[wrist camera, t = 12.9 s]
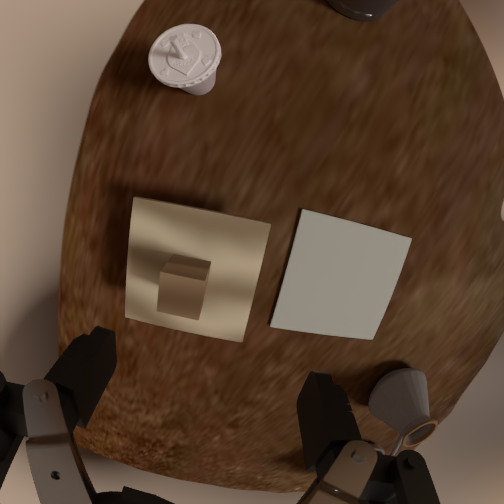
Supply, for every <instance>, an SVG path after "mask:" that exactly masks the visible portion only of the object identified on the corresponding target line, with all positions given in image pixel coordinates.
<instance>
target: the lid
mask: <svg viewBox="0 0 504 504" xmlns="http://www.w3.org/2000/svg"><path fill="white" fill-rule="evenodd" d="M270 227H271V222H267V221H262V220H257V219H253V218H248V217H243V216H238V215H233V214H228V213H223V212H218V211H213V210H208V209H203V208H198V207H193V206H187V205H182V204H177V203H171V202H166V201H160V200H155V199H149V198H143V197H138V196H136V197H134V199H133V206H132V215H131V224H130V234H129V245H128V258H127V275H126V302H125V317H127V318H131V319H135V320H139V321H143V322H147V323H151V324H155V325H159V326H163V327H167V328H172V329H176V330H181V331H185V332H190V333H195V334H200V335H205V336H210V337H215V338H221V339H226V340H232V341H237V342H242V341H243V337H244V333H245V329H246V325H247V321H248V317H249V313H250V309H251V305H252V301H253V297H254V293H255V288H256V284H257V280H258V276H259V272H260V268H261V264H262V260H263V256H264V252H265V247H266V243H267V239H268V235H269V231H270Z"/></svg>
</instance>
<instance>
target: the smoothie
mask: <svg viewBox="0 0 504 504" xmlns="http://www.w3.org/2000/svg"><path fill="white" fill-rule="evenodd" d="M220 58H221V47H220V44H219V41H218V39H217V37H216V36H215V34H214V33H213V32H212V31H210V30H209V29H207V28H206V27H203V26H200V25H196V24H184V25H179V26H175V27H173V28H171V29H169V30H167V31H165V32H164V33H163V34H161V35H160V36H159V37H158V38H157V39H156V40H155V42H154V43H153V45H152V47H151V49H150V52H149V57H148V63H149V67H150V70H151V72H152V73H153V74H154V76H155V77H156V78H157V79H158V80H159V81H160V82H162V83H163V84H165V85H168V86H171V87H178V88H181V89H183V90H185V91H187V92H189V93H191V94H193V95H203V94H206V93H207V92H209V91H210V90H211V89H212V88H213V86H214V84H215V77H216V68H217V66H218V64H219V62H220Z"/></svg>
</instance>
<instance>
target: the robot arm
mask: <svg viewBox="0 0 504 504" xmlns="http://www.w3.org/2000/svg"><path fill="white" fill-rule="evenodd" d="M398 1H399V0H327V2H328V3H329V4H330V5H331V6H332V7H333V8H334V9H336V10H337V11H338V12H340V13H341V14H343V15H345V16H347V17H349V18H352V19H355V20H360V21H373V20H376V19H378V18H380V17H381V16H382V15H383V14H384V13H385V12H386V11H388V10H389V9H390V8H391V7H392V6H393V5H394V4H396V3H397V2H398ZM116 362H117V356H116V339H115V332H114V331H113V330H109V329H106V328H103V327H100V326H96V327H95V328H94V329H93V331H92V332H91V333H90V335H89V336H88V335H86V334H82V335H81V336H79V337H77V338H75V339H74V340H73V341H72V342H71V344H70V345H69V346H68V348H67V349H66V350H65V351H64V352H63V355H61V356H60V358H59V359H58V360H57V361H56V363H55V364H54V365H53V367H52V368H51V369H50V371H49V372H48V373H47V375H46V376H45V377H44V379H35V380H32V381H30V382H28V383H27V384H26V385H20V384H15V383H11V382H7V381H6V379H5V377H4V375H3V373H1V371H0V489H1V487H2V484H3V481H4V479H5V477H6V474H7V472H8V470H9V468H10V465H11V463H12V461H13V459H14V456H15V454H16V452H17V450H18V448H19V446H20V444H21V442H22V440H23V438H24V436H26V437H28V438H29V440H27V441H26V451H27V455H28V460H29V464H30V469H31V473H32V476H33V480H34V484H35V486H36V490H37V494H38V497H39V500H40V503H41V504H174V503H172V502H169V501H167V500H165V499H163V498H161V497H158V496H156V495H154V494H150V493H146V492H142V491H139V490H135V489H132V488H129V487H125V486H124V487H123V490H122V492H112V491H110V492H101V493H96V491H95V489H94V487H93V484H92V482H91V480H90V478H89V476H88V474H87V471H86V469H85V466H84V464H83V461H82V458H81V455H80V453H79V450H78V447H77V444H76V441H75V437H74V434H73V431H74V429H75V427H76V425H77V426H79V427H82V428H84V429H85V428H86V426H87V424H88V422H89V420H90V418H91V416H92V414H93V412H94V410H95V408H96V406H97V404H98V402H99V400H100V398H101V396H102V394H103V392H104V390H105V388H106V386H107V384H108V382H109V381H110V379H111V377H112V375H113V373H114V371H115V367H116ZM349 404H350V403H349V400H348V397H347V394H346V393H345V392H344V391H343V389H342V388H341V387H340V386H339V385H334V384H333V381H332V378H331V375H330V373H328V372H317V371H311V372H310V373H309V375H308V377H307V379H306V381H305V383H304V386H303V388H302V390H301V392H300V394H299V396H298V399H297V413H298V419H299V425H300V432H301V438H302V444H303V451H304V457H305V463H306V470H307V471H316V472H317V478H316V479H315V480H314V481H313V483H312V484H311V485H310V487H309V488H308V489H307V491H306V492H305V494H304V495H303V496H302V497H301V499H300V500H299V501H298V503H297V504H360V502H359V501H358V499H361V501H362V504H440V502H439V499H438V496H437V493H436V490H435V487H434V484H433V481H432V478H431V476H430V473H429V470H428V468H427V465H426V462H425V460H424V458H423V457H422V455H420V454H419V453H418V452H416V451H414V450H404V451H402V452H400V453H399V454H398V455H397V456H396V457H394V456H388V455H382V454H378V453H377V452H376V450H375V449H374V447H373V446H372V445H370V444H369V443H367V442H365V441H363V440H362V438H361V435H360V432H359V429H358V426H357V423H356V420H355V417H354V414H353V413H352V409H351V406H350V405H349Z"/></svg>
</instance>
